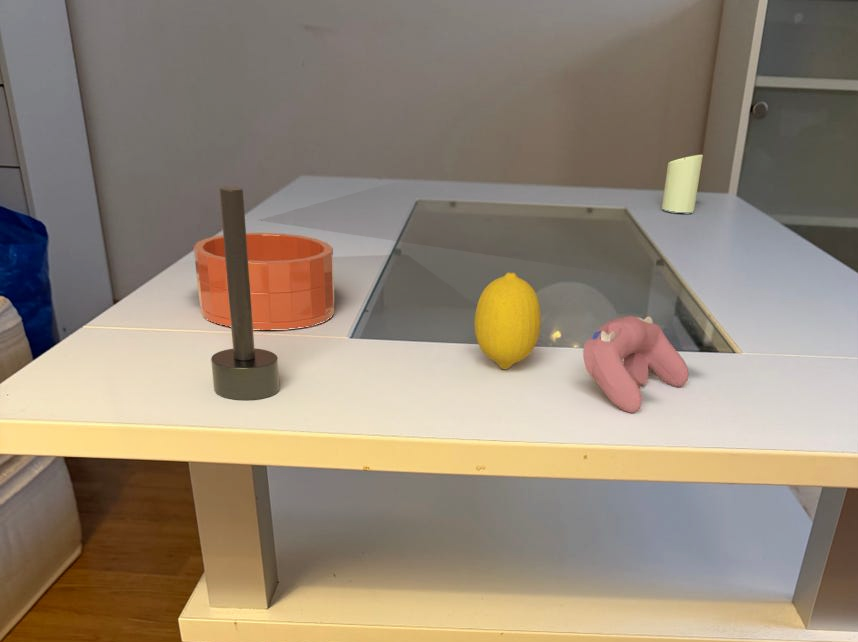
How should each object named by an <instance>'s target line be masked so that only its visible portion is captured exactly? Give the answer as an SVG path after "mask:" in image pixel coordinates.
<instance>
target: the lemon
mask: <svg viewBox="0 0 858 642" xmlns="http://www.w3.org/2000/svg"><path fill="white" fill-rule="evenodd" d="M541 317H542V315H541V306H540V302H539V298H538V295H537V293H536V291H535V290H534V288H533V287H532V286H531V285H530V283H528V282H527V281H526V280H524V279H522V278H520V277H518V275H517V274H516V273H515V272H506V273H505V274H504V276H500V277H498V278H496V279H494V280H493V281H491V282H489V284H487V286H486V287H485V288H484V289H483V291H482V292H481V294H480V296H479V299H478V302H477V305H476V309H475V314H474V333H475V337H476V341H477V345H478V346H479V349H480V350H481V351H482V353H483V354H484V355H485V357H487V358H488V359H490V360H492V361H494V362H495V363H496V364H497V366H499V367H500V369H502V370H508V369H510V368H511V367H512V366H513V365H514V364H515V363H519V362H521V361H522V360H524V359H525V358H527V357H528V356H529V355H530V354H531V353H532V352H533V351H534V349H535V347H536V345H537V344H538V340H539V337H540V332H541V324H542V318H541Z"/></svg>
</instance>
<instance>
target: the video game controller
mask: <svg viewBox="0 0 858 642" xmlns="http://www.w3.org/2000/svg"><path fill="white" fill-rule="evenodd" d="M582 357H583V362H584V363H583V364H584V366H585V369H586V372H587V373H588V375H589V376H590V377H591V378H592V379H593V380H594V381H595V382H596V383H597V385H598V386H599V388H600V389H601V391H602V392H603V394H604V395H605V396H606V397H607V399H609V401H610V402H612V404H614V405H615V406H616V407H618V408H619V409H621V411H624V412H626V413H631V414H632V413H636V412H637V411H639V410H640V409H641V408H642V407H641V406H642V403H643V397H642V392H641V390H640V386H643V385H644V384H646V383H647V382H648V380H649V369H651V371H653V373H654V374H655V375H657V377H659V378H660V379H661V380H662V381H664V382H665V383H667V384H669V385H671V384H672V386H674V385H675V386H674V387H676V386H681V387H683V386H685V385H686V384H687V382H688V380H689V368H688V365H687V363H686V361H685V359H684V358H683V357H682V356H681V355H680V353H679V352H678V351H677V350H676V348H675V347H674V346H673V345H672V343H671V342H670V341H669V340H668V338H667V337H666V334H664V332H663V330H662V329H661V327H660V326H659V325H658V324H657V323H654V322H653V319H652V317H651V316H647V317H645V318H641V317H638V316H634V315H628V316H627V315H626V316H623V317H618V318H614V319H612V320H610V321H608V322H606V323H604V324H603V325H602V326H601V327H599V328H598V330H597V331H596V332H595V333H594V334H593V335H592V336H591V337H589V338H588V339H586V341H585V343H584V345H583V350H582Z"/></svg>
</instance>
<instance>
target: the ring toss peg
mask: <svg viewBox="0 0 858 642" xmlns="http://www.w3.org/2000/svg"><path fill="white" fill-rule="evenodd" d="M218 191H219V199H220V211H221V212H220V214H221V224H222V235H223V237H224V249H225V260H226V272H227V283H228V295H229V307H230V318H231V328H230V329H231V339H232V340H231V341H232V348H228V349H223V350H221V351H217V352H216V353H213V354H212V356H211V358H210V362H211V371H212V382H213V391H214V393H215V394H217V395H218V396H220V397H222V398H225V399H231V400H238V401H253V400H254V401H255V400H261V399H266V398H270V397H272V396H274V395H276V394H277V393H278V392H279V391H280V375H279V357H278V355H276V353H274V352H273V351H269V350H266V349H262V348H256V347H255V337H254V336H255V335H254V331H253V321H252V308H251V294H250V281H249V267H248V254H247V240H246V233H247V229H246V228H247V227H246V214H245V213H246V212H245V203H244V202H245V201H244V189H243V188H242V187H239V186H221V187H219V190H218Z"/></svg>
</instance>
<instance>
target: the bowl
mask: <svg viewBox="0 0 858 642" xmlns="http://www.w3.org/2000/svg"><path fill="white" fill-rule="evenodd" d="M246 240H247V254H248V267H249V281H250V294H251V308H252V321H253V329H260V330H262V329H263V330H271V329H289V328H298V327H306V326H312V325H315V324H317V323H320V322H323V321H326V320H327V319H328V318H330V317H331V316H332V315H333V314H335V280H334V278H335V277H334V248H333V247H332V245H330V244H329V243H328V242H327V241H323V240H320V239H318V238H315V237H309V236H306V235H305V236H304V235H299V234H290V233H279V232H278V233H276V232H246ZM193 251H194V252H193V254H194V263H195V275H196V283H197V292H198V303H199V306H200V314H201V316H202V315H203V316H202V318H204V317H205V318H206V319H208V320H209V321H208V320H207V321H208V322H210V321H211V322H210V323H212V322H214V323H217V324H221V325H225V326H231V318H230V307H229V295H228V283H227V272H226V260H225V249H224V237H223V234H221V235H216V236H211V237H207V238H204V239H201V240H199V241H197V242H196V243H195V244H194V246H193ZM333 316H334V315H333ZM205 318H204V319H205ZM206 319H205V320H206ZM214 323H213V324H214ZM217 324H216V325H217ZM221 325H220V326H221ZM225 326H224V327H225Z"/></svg>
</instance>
